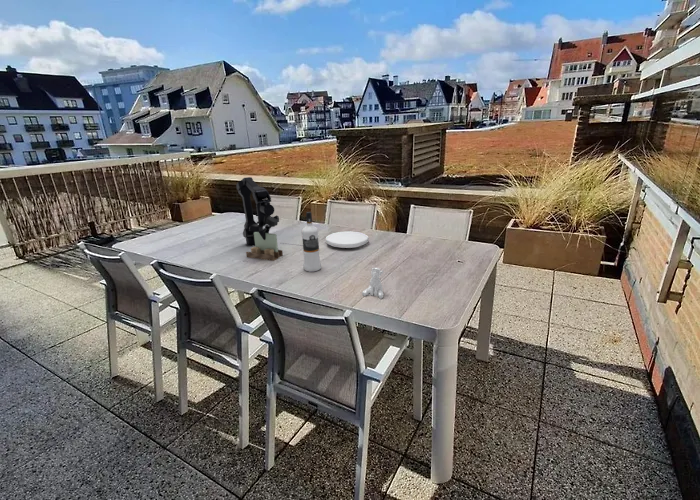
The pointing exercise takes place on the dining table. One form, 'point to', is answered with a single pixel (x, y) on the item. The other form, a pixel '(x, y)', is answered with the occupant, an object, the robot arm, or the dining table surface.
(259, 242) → the green rectangular slab
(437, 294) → the dining table surface
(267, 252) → the offcut
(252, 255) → the rack
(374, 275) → the sitting furry creature
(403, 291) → the dining table surface
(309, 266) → the vodka
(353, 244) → the plate
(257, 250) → the offcut
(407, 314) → the dining table surface
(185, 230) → the dining table surface
